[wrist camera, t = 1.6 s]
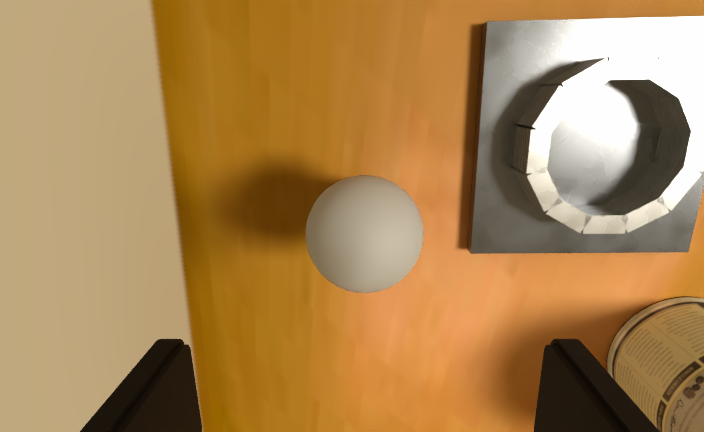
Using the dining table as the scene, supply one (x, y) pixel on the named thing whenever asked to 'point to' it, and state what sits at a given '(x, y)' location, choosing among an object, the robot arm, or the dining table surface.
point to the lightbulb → (364, 234)
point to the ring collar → (588, 136)
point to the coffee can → (663, 363)
